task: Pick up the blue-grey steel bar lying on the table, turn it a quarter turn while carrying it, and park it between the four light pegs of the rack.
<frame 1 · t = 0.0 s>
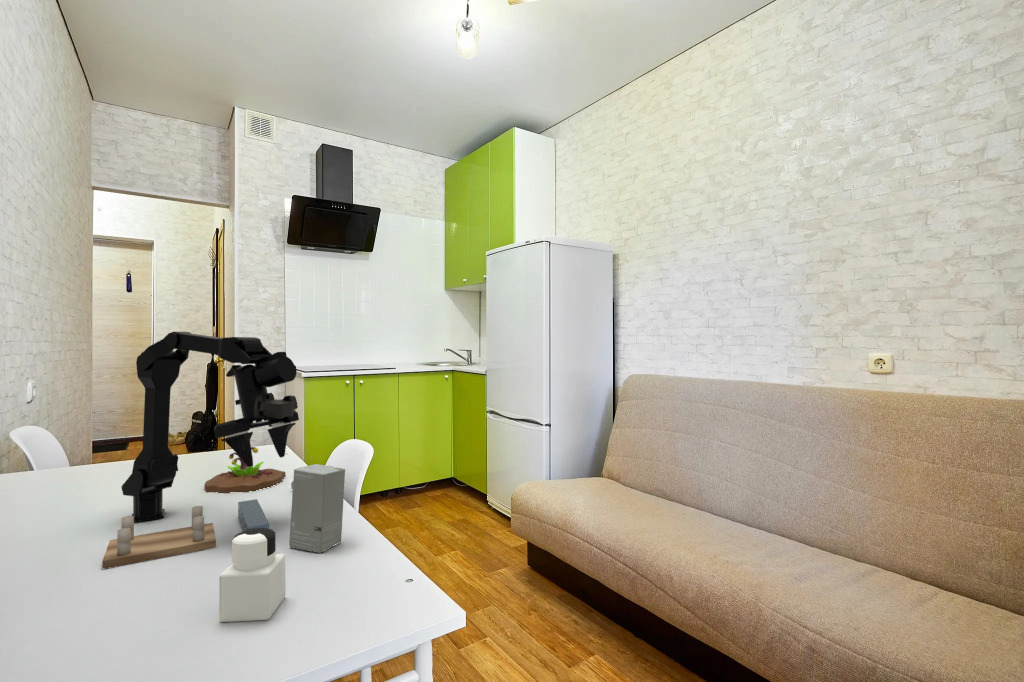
hand: (267, 461, 111), 15 cm above the table, tool pointing down, fingers open, 9 cm apart
plant: (246, 485, 150), on the table
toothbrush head: (314, 502, 134), on the table
peg rack: (162, 547, 102), on the table
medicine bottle: (254, 610, 78), on the table
steel bar: (252, 529, 113), on the table
skincare box: (317, 546, 104), on the table
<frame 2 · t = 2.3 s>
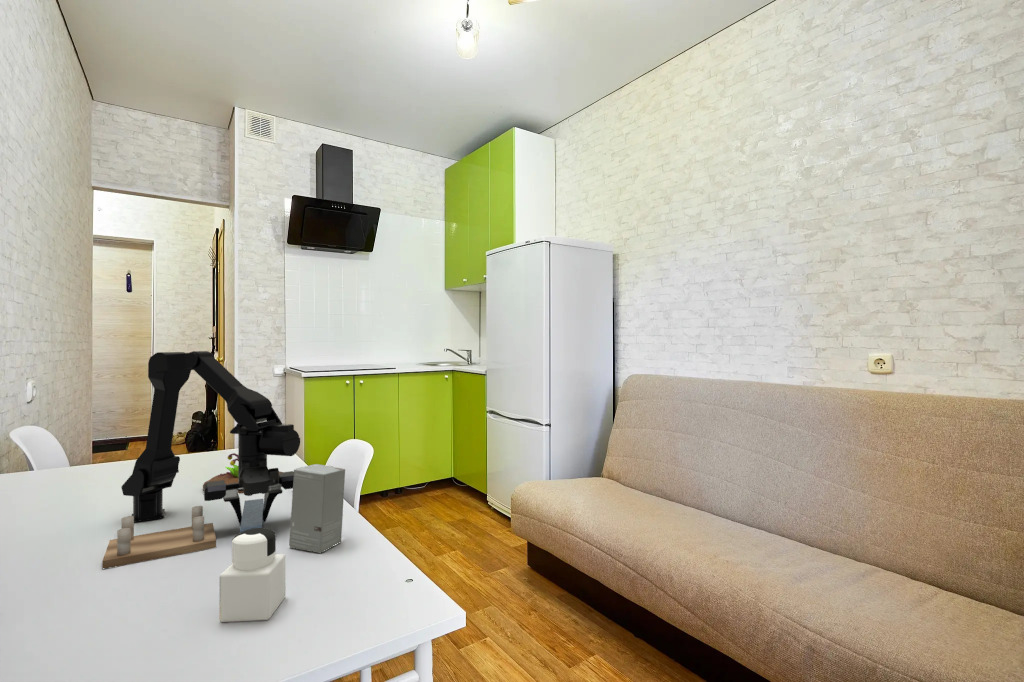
hand: (252, 523, 113), 1 cm above the table, tool pointing down, fingers closed on steel bar, 4 cm apart
steel bar: (252, 529, 113), on the table, touching gripper
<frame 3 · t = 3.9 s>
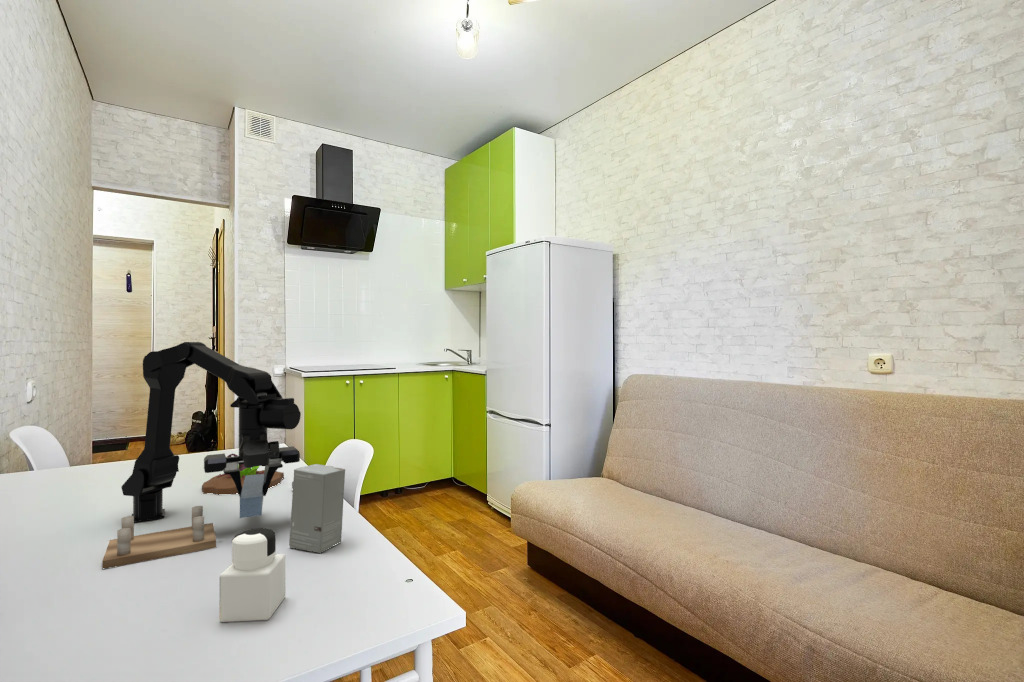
hand: (253, 497, 113), 7 cm above the table, tool pointing down, fingers closed on steel bar, 4 cm apart
steel bar: (252, 503, 113), point 6 cm above the table, touching gripper
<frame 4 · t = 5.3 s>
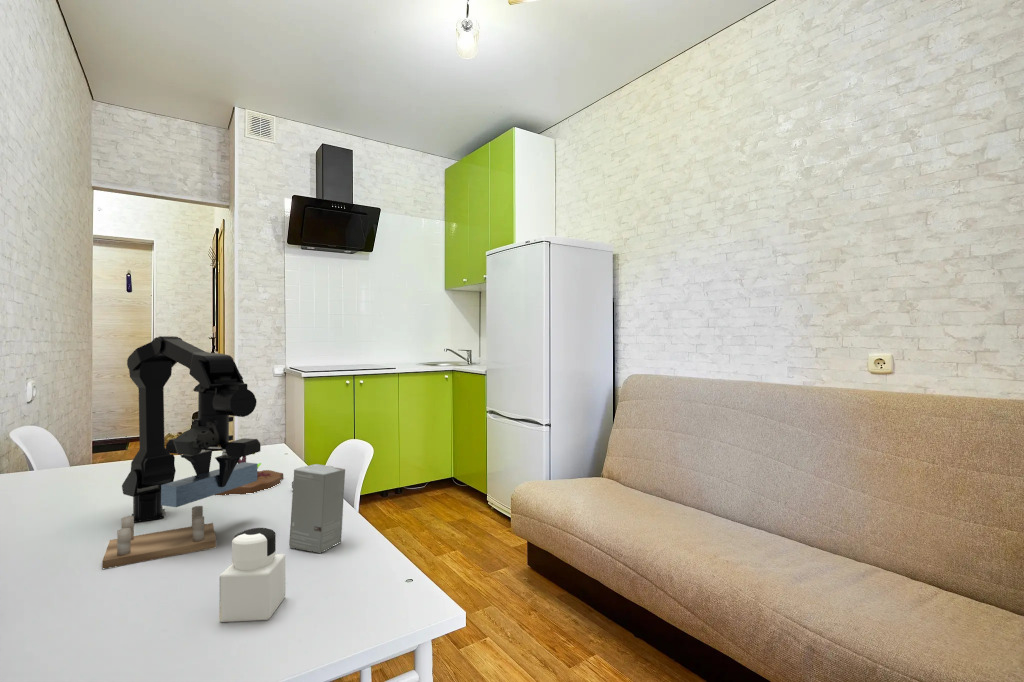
hand: (213, 486, 108), 11 cm above the table, tool pointing down, fingers closed on steel bar, 4 cm apart
steel bar: (213, 492, 108), point 10 cm above the table, touching gripper
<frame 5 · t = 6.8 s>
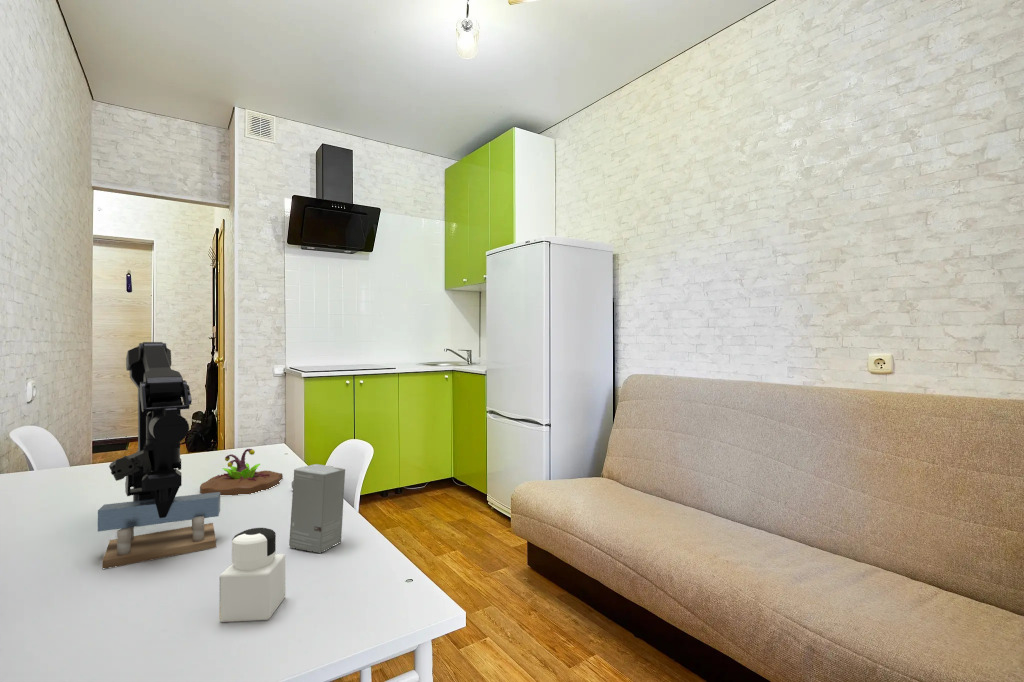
hand: (163, 514, 103), 7 cm above the table, tool pointing down, fingers closed on steel bar, 4 cm apart
steel bar: (162, 520, 103), point 5 cm above the table, touching gripper
when the fingers open (4 cm above the table, at t = 8.0 s): steel bar drops 1 cm, resting on peg rack.
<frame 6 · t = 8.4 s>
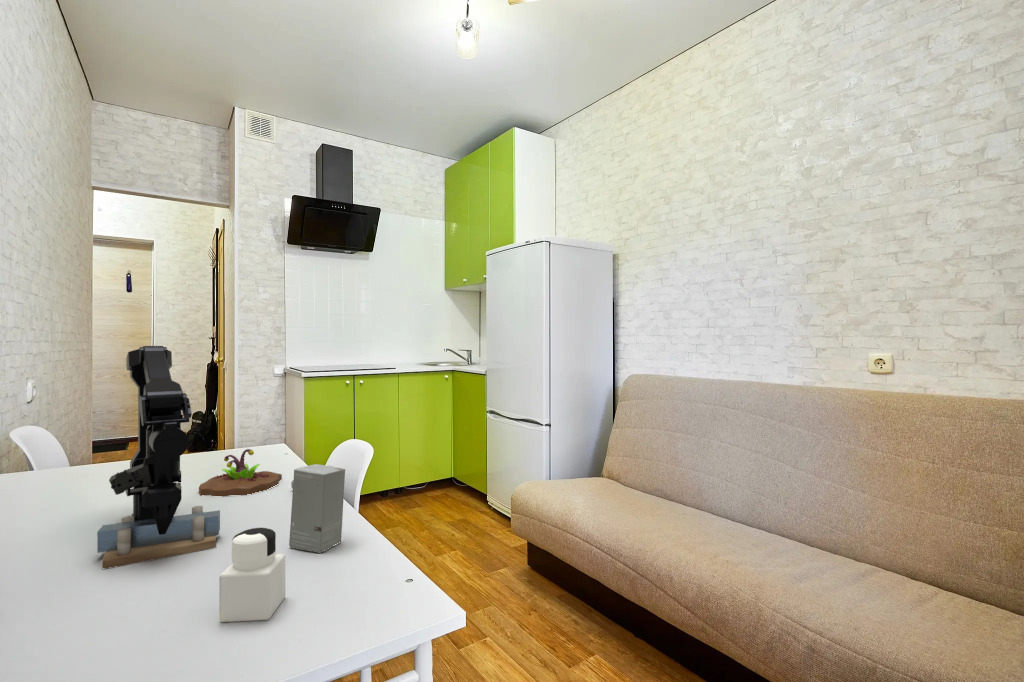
hand: (163, 527, 103), 4 cm above the table, tool pointing down, fingers open, 8 cm apart
steel bar: (162, 540, 102), point 1 cm above the table, touching peg rack
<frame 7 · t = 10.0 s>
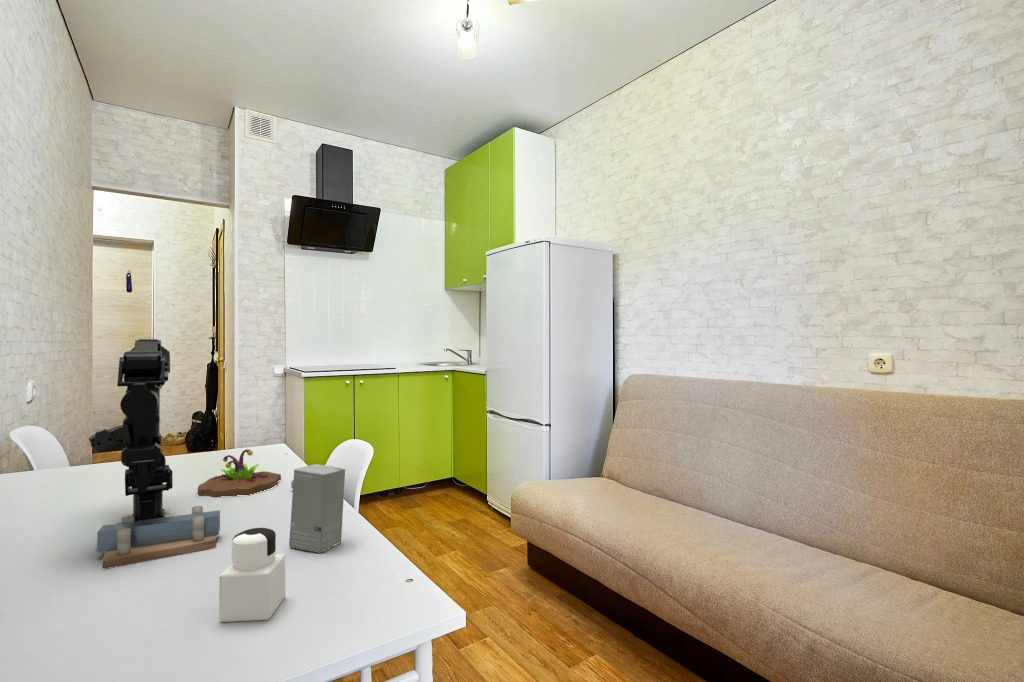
hand: (142, 487, 105), 12 cm above the table, tool pointing down, fingers open, 9 cm apart
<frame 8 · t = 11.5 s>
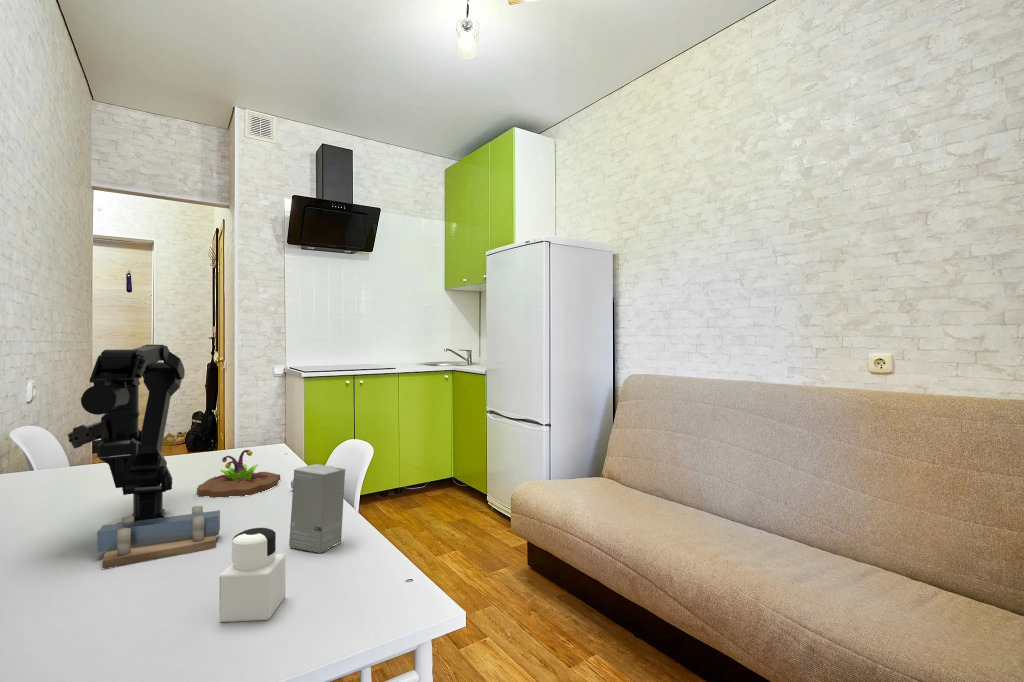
hand: (121, 482, 107), 12 cm above the table, tool pointing down, fingers open, 9 cm apart
at the end: steel bar 0.1 cm off-centre on the peg rack, point 1.5 cm above the peg rack's base; steel bar touching peg rack; the gripper is holding nothing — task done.
